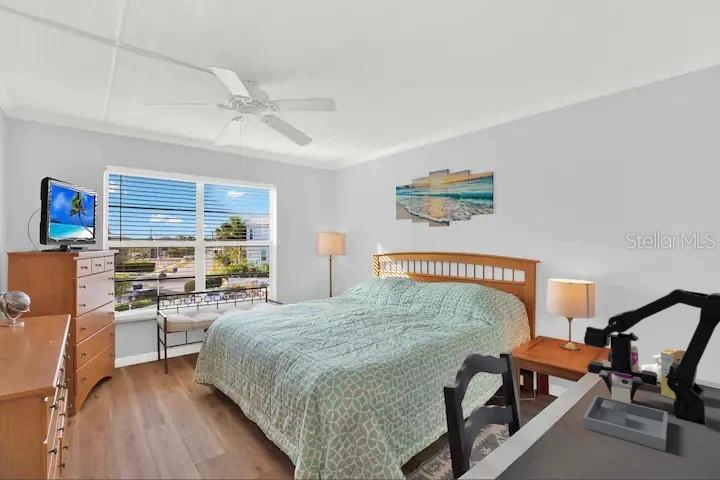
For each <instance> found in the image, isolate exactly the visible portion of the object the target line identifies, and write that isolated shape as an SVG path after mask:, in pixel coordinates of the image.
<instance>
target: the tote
mask: <svg viewBox="0 0 720 480" xmlns="http://www.w3.org/2000/svg"><path fill="white" fill-rule="evenodd" d="M603 400H608V401H612V402H616V403H620V404H625V405H628V420H627V423H626V426H623V425H620V424H616V423H612V422H608V421H605V420H601V404H602V402H603ZM668 418H669V417H668V411H666V410H662V409H657V408H652V407H648V406H644V405H640V404H639V405H638V404H636V403H632V402H631V403H627V402H623V401H618V400H614V399H612V398H610V397H609V398H608V397H605V396H601V395H594V397H593V399H592V400H591V402H590V404H589V406H588V408H587V409H586V411H585V413H583V416H582V428H583V429H586V430H590V431H593V432H597V433H600V434H603V435H607V436H610V437H614V438H618V439H621V440H624V441H627V442H628V441H629V442H631V443H635V444H638V445H641V446H644V447H648V448H652V449H656V450H658V451H662V452H666V450H667V439H668V438H667V436H668V426H669V425H668V423H669V419H668Z"/></svg>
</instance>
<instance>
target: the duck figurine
mask: <svg viewBox="0 0 720 480" xmlns="http://www.w3.org/2000/svg"><path fill="white" fill-rule="evenodd" d="M651 357H652V359H654V361H655V364H653V363H647V364H643V365H641V366H640V373H641V372H642V370H646V371H651V372H655V373H656V374H657V378H658V381H657V382H660V383H659V384H661V353H658V354H651Z"/></svg>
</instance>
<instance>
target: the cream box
mask: <svg viewBox="0 0 720 480" xmlns="http://www.w3.org/2000/svg"><path fill="white" fill-rule="evenodd" d="M631 389H632V385H627V384H623V383H618V382H614V381H613V382H612V387H611V394H612V396H611V399H614V400H618V401H623V402H627V403H631V404H632V401H633V400H631ZM611 394H610V395H611Z"/></svg>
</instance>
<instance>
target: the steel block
mask: <svg viewBox="0 0 720 480" xmlns="http://www.w3.org/2000/svg"><path fill="white" fill-rule="evenodd" d="M601 420H605V421H608V422H612V423H616V424H620V425H623V426H626V423H627V420H628V405H625V404H620V403H616V402H612V401H608V400H603V402H602V404H601Z"/></svg>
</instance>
